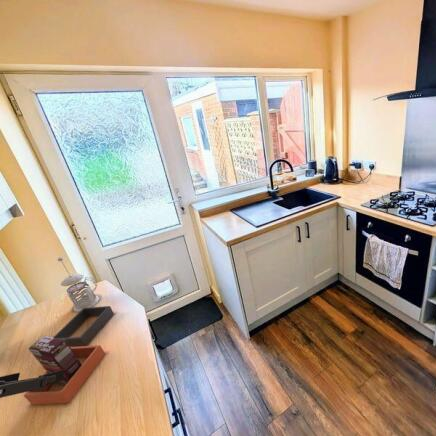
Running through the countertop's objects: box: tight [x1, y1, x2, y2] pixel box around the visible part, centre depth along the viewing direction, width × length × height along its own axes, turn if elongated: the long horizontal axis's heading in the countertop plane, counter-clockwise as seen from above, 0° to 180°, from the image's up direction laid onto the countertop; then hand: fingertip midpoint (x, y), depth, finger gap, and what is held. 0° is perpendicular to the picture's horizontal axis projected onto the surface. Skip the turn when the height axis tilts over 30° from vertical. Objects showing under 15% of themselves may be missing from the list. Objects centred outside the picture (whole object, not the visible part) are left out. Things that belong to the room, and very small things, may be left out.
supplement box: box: [28, 335, 83, 385], centre depth 76 cm, size 9×5×16 cm, turn 76°
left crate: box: [23, 344, 106, 406], centre depth 78 cm, size 12×16×4 cm
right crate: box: [52, 305, 115, 347], centre depth 96 cm, size 12×16×4 cm
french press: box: [56, 256, 100, 313], centre depth 107 cm, size 10×12×25 cm
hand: (40, 376), depth 70 cm, fingers open, 13 cm apart
